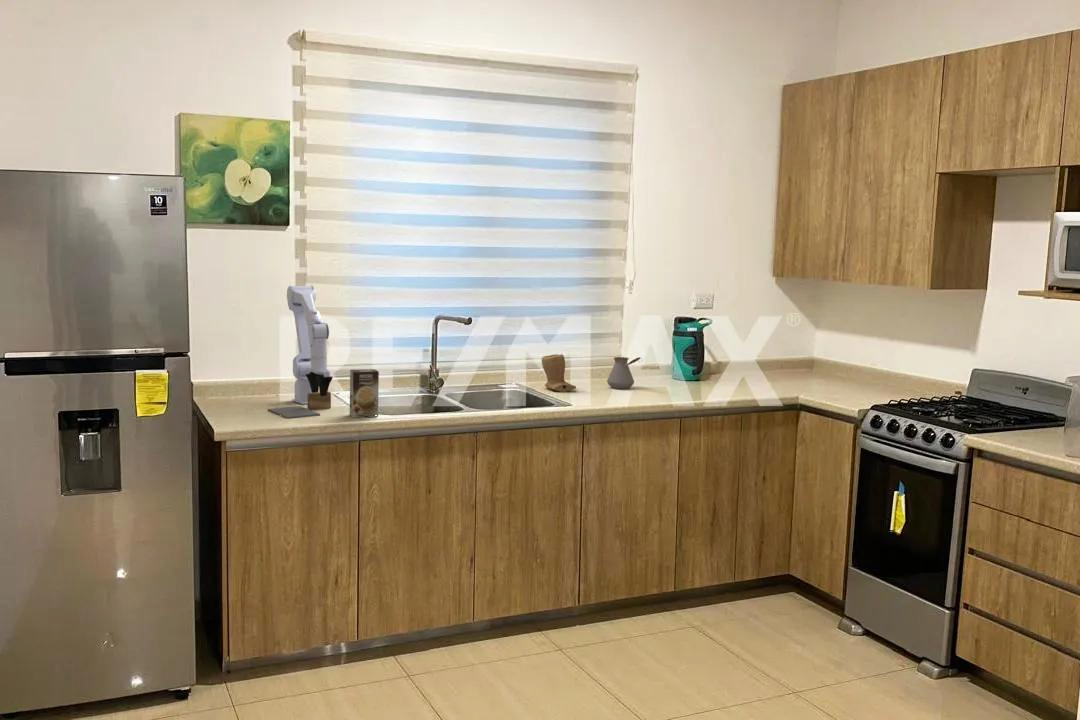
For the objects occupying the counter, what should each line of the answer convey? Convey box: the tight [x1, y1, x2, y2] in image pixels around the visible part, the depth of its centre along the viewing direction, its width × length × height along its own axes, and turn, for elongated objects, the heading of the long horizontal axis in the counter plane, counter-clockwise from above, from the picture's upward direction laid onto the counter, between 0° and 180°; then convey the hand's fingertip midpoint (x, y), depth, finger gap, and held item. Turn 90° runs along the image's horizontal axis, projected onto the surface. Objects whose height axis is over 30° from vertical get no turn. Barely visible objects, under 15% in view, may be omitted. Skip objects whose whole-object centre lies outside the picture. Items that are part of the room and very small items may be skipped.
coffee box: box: [349, 368, 380, 418], centre depth 351 cm, size 9×6×16 cm
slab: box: [306, 391, 332, 411], centre depth 363 cm, size 3×8×6 cm, turn 126°
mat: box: [267, 405, 321, 419], centre depth 354 cm, size 18×12×1 cm, turn 36°
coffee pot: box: [606, 356, 643, 390], centre depth 420 cm, size 21×12×15 cm, turn 25°
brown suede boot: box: [541, 353, 577, 393], centre depth 416 cm, size 15×12×15 cm
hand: (319, 394), depth 362 cm, fingers open, 7 cm apart
